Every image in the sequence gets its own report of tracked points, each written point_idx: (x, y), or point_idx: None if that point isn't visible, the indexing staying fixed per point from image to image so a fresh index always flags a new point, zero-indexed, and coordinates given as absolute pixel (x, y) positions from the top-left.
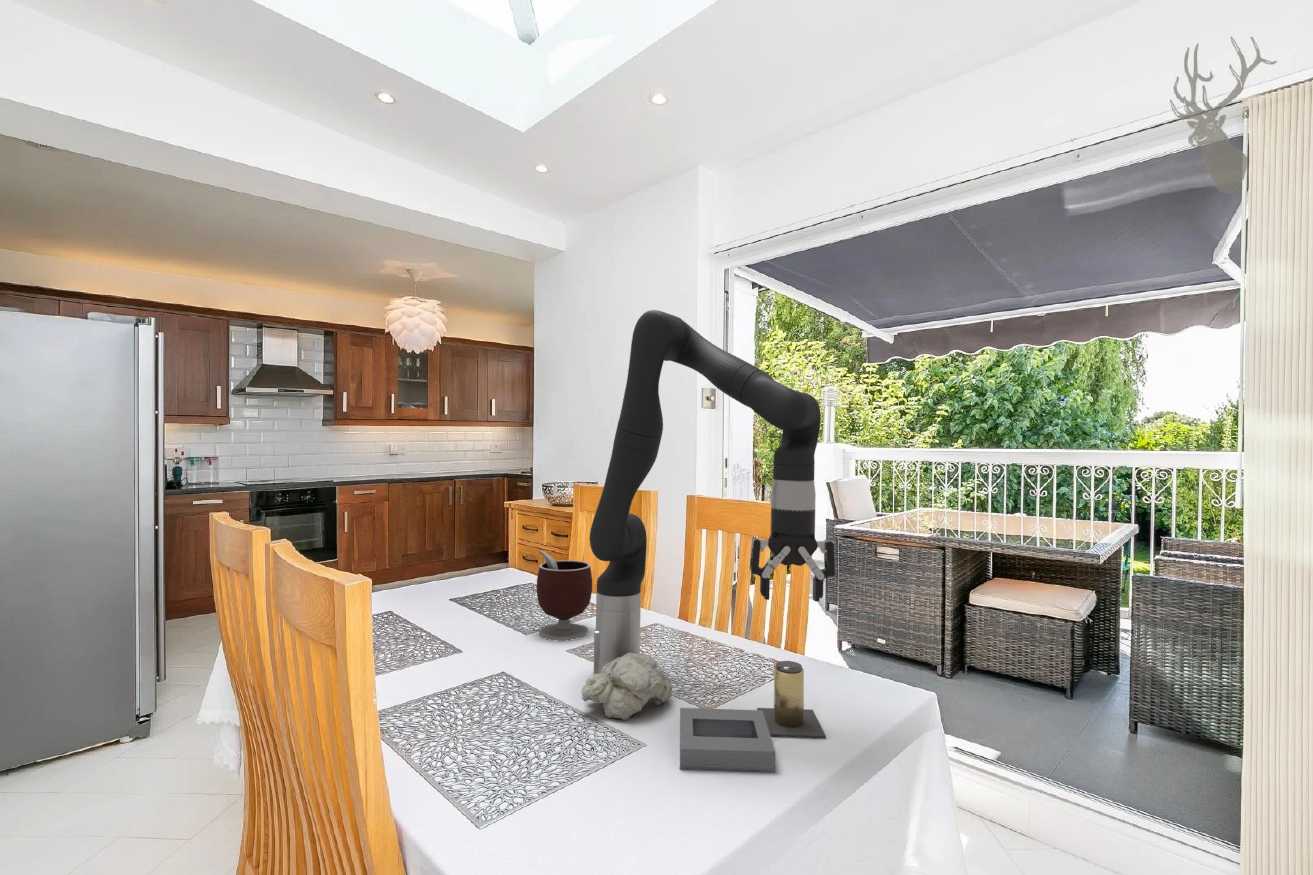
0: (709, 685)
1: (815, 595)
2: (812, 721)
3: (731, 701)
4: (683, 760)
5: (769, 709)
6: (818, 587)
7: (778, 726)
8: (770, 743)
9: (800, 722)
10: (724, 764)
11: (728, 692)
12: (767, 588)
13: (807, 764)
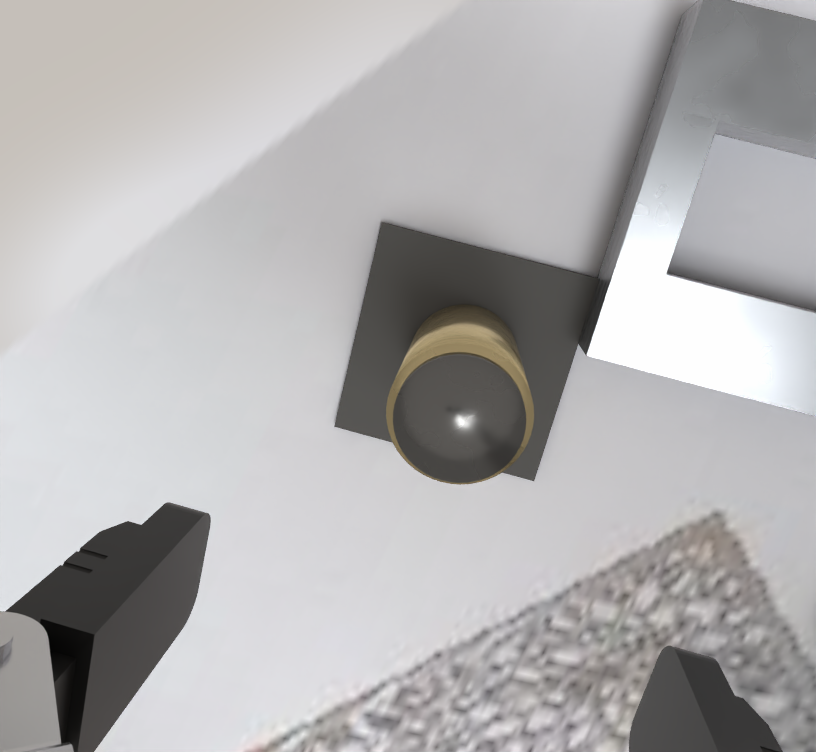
0: (624, 701)
1: (186, 536)
2: (378, 338)
3: (598, 562)
4: None
5: None
6: (110, 569)
7: (521, 325)
8: (690, 68)
9: (439, 311)
10: None
11: (577, 632)
12: (729, 731)
13: (537, 52)
